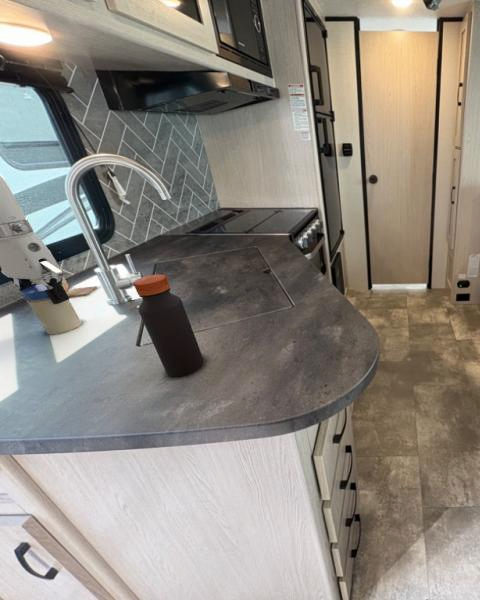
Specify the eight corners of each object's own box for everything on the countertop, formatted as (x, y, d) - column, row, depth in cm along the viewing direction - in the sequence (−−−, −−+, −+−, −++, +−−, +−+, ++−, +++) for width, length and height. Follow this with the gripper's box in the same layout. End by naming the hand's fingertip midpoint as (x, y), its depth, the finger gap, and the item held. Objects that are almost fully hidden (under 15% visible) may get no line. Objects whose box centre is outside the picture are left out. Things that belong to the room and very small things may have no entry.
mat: (63, 298, 97) (62, 296, 97) (75, 290, 103) (74, 288, 102) (86, 295, 99) (85, 293, 99) (97, 287, 104) (96, 286, 104)
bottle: (205, 369, 65) (171, 281, 56) (166, 382, 62) (123, 290, 53) (203, 353, 70) (172, 269, 61) (167, 364, 67) (128, 277, 58)
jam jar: (39, 336, 78) (15, 298, 73) (57, 323, 83) (35, 287, 79) (71, 331, 79) (50, 294, 74) (87, 319, 85) (67, 283, 80)
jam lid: (46, 288, 80) (42, 281, 79) (72, 288, 80) (68, 281, 79) (16, 300, 74) (11, 293, 73) (44, 300, 74) (39, 293, 73)
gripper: (58, 226, 72) (94, 296, 80) (-4, 225, 74) (37, 293, 82) (18, 235, 65) (62, 310, 73) (-48, 233, 68) (1, 306, 76)
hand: (48, 300), depth 78 cm, fingers closed on jam lid, 6 cm apart
